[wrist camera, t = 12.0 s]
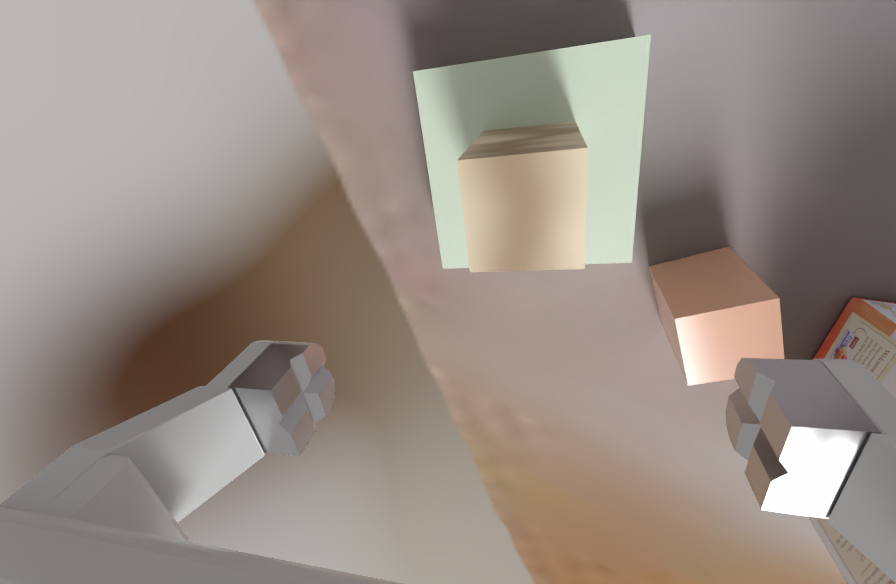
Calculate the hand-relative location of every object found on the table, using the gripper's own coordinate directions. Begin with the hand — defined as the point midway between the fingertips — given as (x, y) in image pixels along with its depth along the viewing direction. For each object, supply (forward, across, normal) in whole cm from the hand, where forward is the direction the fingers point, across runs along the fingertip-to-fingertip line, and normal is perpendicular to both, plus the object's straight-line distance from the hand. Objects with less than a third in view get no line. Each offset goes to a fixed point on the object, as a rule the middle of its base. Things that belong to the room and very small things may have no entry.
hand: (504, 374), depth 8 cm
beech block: (+18, +1, 0) cm, 18 cm away
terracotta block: (+22, -10, +10) cm, 27 cm away
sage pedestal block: (+22, +1, 0) cm, 22 cm away
